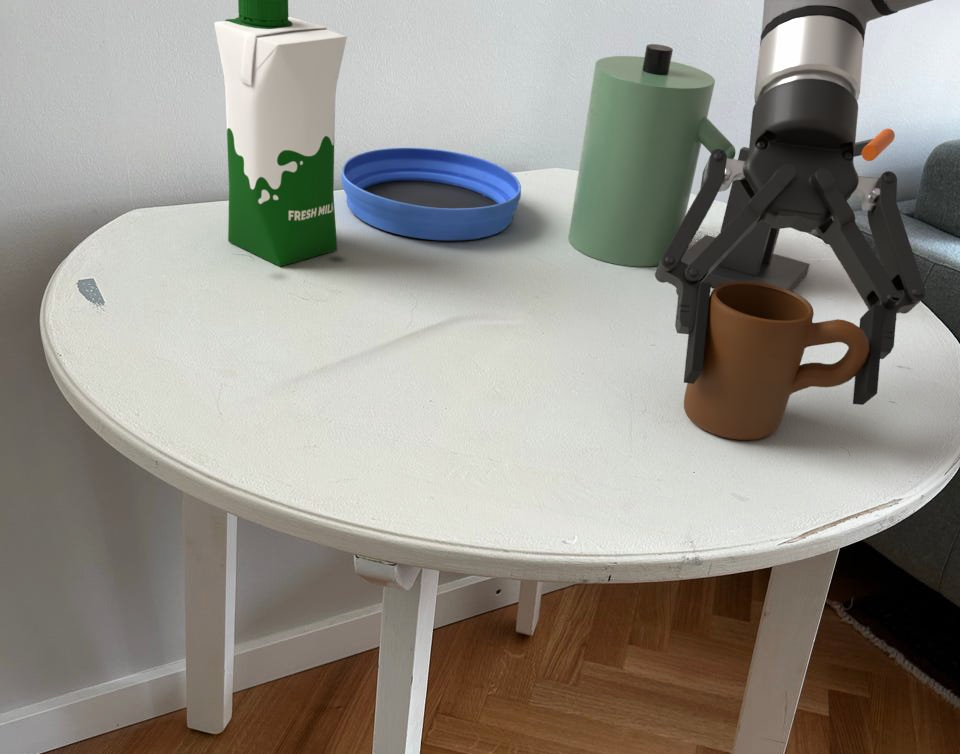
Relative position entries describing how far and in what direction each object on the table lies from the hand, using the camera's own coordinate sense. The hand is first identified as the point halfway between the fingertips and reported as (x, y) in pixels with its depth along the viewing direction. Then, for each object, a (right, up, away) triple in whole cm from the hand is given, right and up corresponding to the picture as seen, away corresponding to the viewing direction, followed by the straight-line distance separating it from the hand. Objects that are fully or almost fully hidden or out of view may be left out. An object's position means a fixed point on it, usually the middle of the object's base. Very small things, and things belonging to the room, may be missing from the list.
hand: (778, 388), depth 80 cm
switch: (+9, +24, +20) cm, 33 cm away
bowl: (-27, +25, +33) cm, 50 cm away
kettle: (-6, +21, +31) cm, 38 cm away
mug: (0, -2, +5) cm, 5 cm away
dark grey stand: (+4, +18, +29) cm, 34 cm away
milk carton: (-40, +18, +22) cm, 49 cm away
